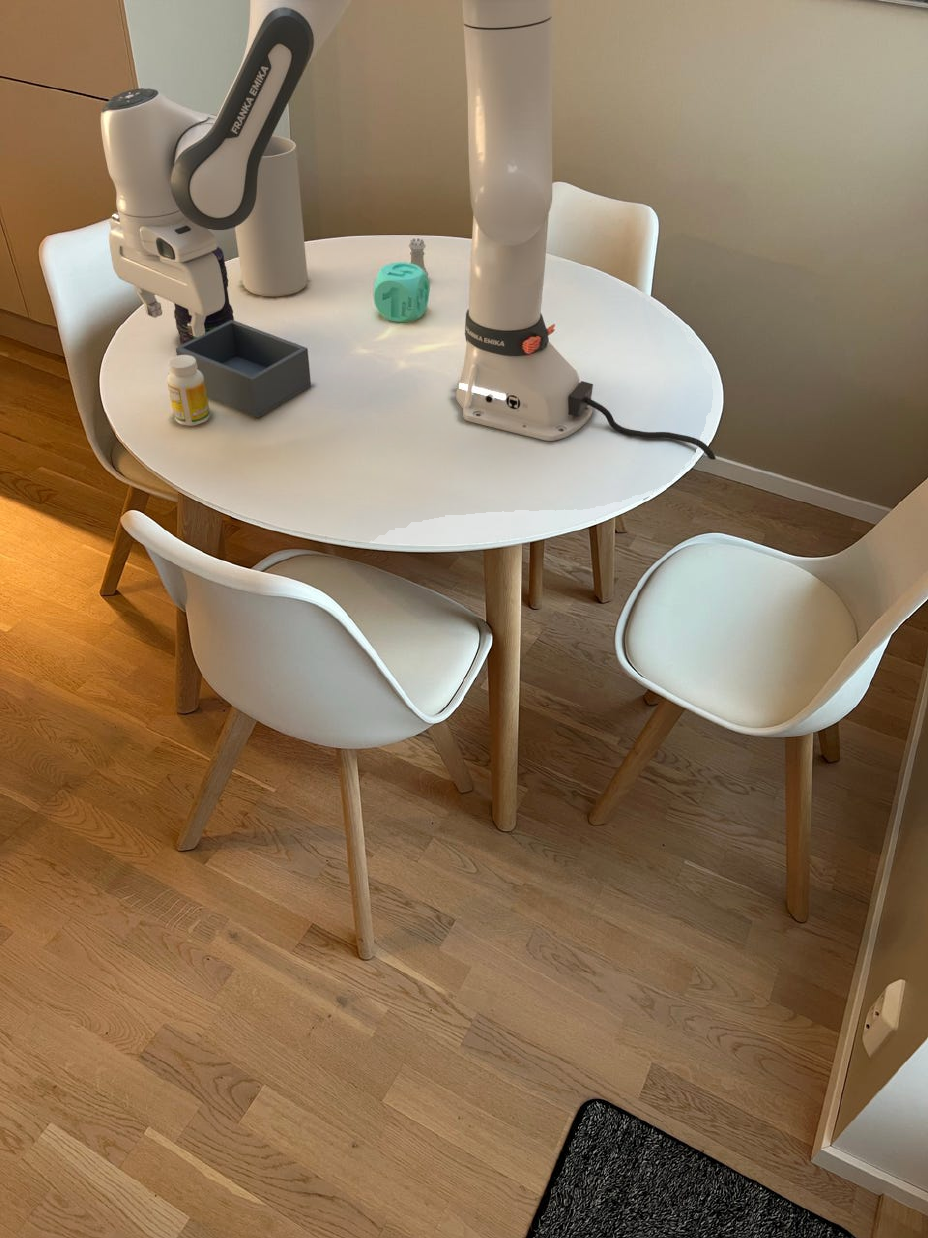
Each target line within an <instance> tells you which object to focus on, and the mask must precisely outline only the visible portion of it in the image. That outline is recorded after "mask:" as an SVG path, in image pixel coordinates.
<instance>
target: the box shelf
mask: <svg viewBox="0 0 928 1238" xmlns="http://www.w3.org/2000/svg"><path fill="white" fill-rule="evenodd" d="M174 349H175V354H176V356H179V355H190V356H193V357H194V358H195V359H196V362H197V369H198V370H199V371H200V372H201V373H202V374H203V377H204V382H205V388H206V394H207V398H208V399H211V400H213V401H216V402H218V403H221V404H223V405H226V406H227V407H230V408H232V409H235V410H237V411H239V412H241V413H243V414H246V415H248V416H251V417H252V418H256V419H260V418H262V417H263V416H265V415H267V414H268V413H270V412H271V411H273V410H274V409H277V408H278V407H279V406H282V405H283V404H285V403H287V402H288V401H289V400H291V399H293V398H294V397H296V396H298V395H299V394H301V393H303V392H304V391H306V390H307V389H309V388H311V387H312V382H311V379H312V378H311V371H310V369H311V368H310V360H309V359H310V358H309V348H308V347H306V346H303V345H300V344H298V343H295V342H292V341H290V340H287V339H285V338H281V337H279V336H276V335H274V334H271V333H268V332H265V331H263V330H260V329H258V328H255V327H253V326H249V325H247V324H245V323H241V322H239V321H237V320H235V319H234V320H230V321H228V322H226V323H224V324H222V325H220V326H218V327H216V328H214V329H212V330H210V331H208V332H206V333H205V334H204V335H202V336H200V337H198V338H197V337H196V338H194V339H192V340H190V341H188V342H186V343H184V344H182V345H181V344H180V345H179V346H177V347H175V348H174Z"/></svg>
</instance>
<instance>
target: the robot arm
mask: <svg viewBox="0 0 928 1238" xmlns="http://www.w3.org/2000/svg"><path fill="white" fill-rule="evenodd" d="M352 1H353V0H250V1H249V2H250V3H249V23H248V24H249V25H248V35H247V41H246V46H245V51H244V55H243V58H242V61H241V64H240V66H239V68H238V70H237V73H236V76H235V77H234V79H233V82H232V83H231V86H230V88H229V90H228V92H227V94H226V97H225V99H224V101H223V103H222V105H221V107H220V109H219V112H218V113H217V114H209V113H205V112H201V111H198V110H194V109H191V108H189V107H186V106H183V105H181V104H179V103H177V102H175V101H173V100H171V99H169V98H168V97H166V95H164V94H162V93H161V91H159V90H157V89H155V88H142V87H141V88H134V89H129V90H126V91H123V92H120V93H118V94H117V95H115V96H112V97H110V99H108V100H107V102H105V105H103V108H102V110H101V113H100V132H101V139H102V145H103V146H102V147H103V152H104V157H105V161H106V164H107V165H106V166H107V171H108V174H109V177H110V178H111V180H112V183H113V185H114V187H115V193H116V200H115V203H116V204H115V205H116V206H115V207H116V210H117V211H115V212H114V213H113V214H112V215H111V216H110V218H109V225H110V231H109V233H108V242H109V249H110V256H111V257H110V258H111V262H112V268H113V270H114V273H115V274H116V276H117V277H118V279H120V280H122V281H124V282H126V283H129V284H131V285H132V286H133V285H134V288H135V292H136V293H137V295H138V297H139V298H140V300H141V302H142V303H143V305H144V309H145V313H146V315H147V316H150V317H152V318H154V319H156V318H158V317H160V316H162V315H163V309H162V304H161V302H159V301H158V300H157V298H156V296H157V297H160V298H162V299H164V300H167V301H169V302H171V303H173V304H174V303H175V304H178V305H180V306H182V307H184V308H187V309H188V311H189V315H191V316H192V320H191V322H190V323H187V326H188V329H189V331H188V332H189V334H191V335H193V336H195V337H197V338H198V337H200V336H202V335H204V334H205V328H204V321H205V318H206V316H208V315H210V314H213V313H215V312H217V311H219V310H221V309H222V308H223V306H224V304H225V294H224V286H223V280H222V274H221V269H220V265H219V262H218V260H217V258H216V256H215V255H214V254H213V253H212V251H214V250H216V249H217V247H218V242H217V238H216V236H215V234H214V233H213V232H212V231H228V230H231V229H235V227H236V226H238V225H240V224H241V223H242V222H244V221H245V220H246V219H247V218H248V217H249V215H250V214H251V212H252V210H253V208H254V205H255V202H256V195H257V177H258V169H259V164H260V161H261V158H262V155H263V153H264V151H265V149H266V147H267V145H268V142H269V140H270V138H271V136H273V135H274V132H275V130H276V128H277V126H278V124H279V122H280V120H281V118H282V116H283V114H284V112H285V110H286V107H287V105H288V103H289V102H290V100H291V98H292V96H293V94H294V92H295V90H296V88H297V86H298V85H299V82H300V81H301V79H302V78H303V76H304V74H305V73H306V71H307V70H308V68H309V67H310V65H311V64H312V62H313V61H314V60H315V57H316V56H317V55H318V53H319V52H320V50H321V49H322V47H323V46H324V44H325V43H326V42H327V41H328V39H329V37H330V36H331V35H332V33H333V32H334V30H335V29H336V28H337V26H338V24H339V23H340V21H341V19H342V18H343V16H344V14H345V13H346V11H347V10H348V9H349V6H350V4H351V3H352ZM552 13H553V12H552V0H462V23H463V24H462V25H463V39H464V40H463V41H464V55H465V58H464V59H465V75H466V89H467V90H466V91H467V93H466V94H467V136H468V137H467V139H468V141H467V142H468V170H469V171H468V173H469V177H468V178H469V198H470V206H471V211H472V214H473V217H472V233H471V247H470V248H471V249H470V265H469V289H468V290H469V291H468V309H467V310H466V312H465V321H464V337H465V341H466V344H465V345H466V346H465V354H464V359H463V360H464V361H463V366H462V371H461V375H460V379H459V382H458V385H457V387H456V390H455V400H456V402H457V403H458V404H459V406H460V407H461V409H462V418H463V419H464V421H467V422H469V423H474V424H478V425H482V426H486V427H489V428H494V429H498V430H501V431H505V432H510V433H512V434H513V433H514V434H517V435H522V436H526V437H530V438H533V439H537V440H541V441H546V442H555V441H559V440H562V439H564V438H567V437H569V436H571V435H573V434H574V433H576V432H577V431H578V430H580V429H581V428H583V426H584V425H586V423H587V422H588V421H589V420H590V419H591V416H592V414H593V409H595V410H597V411H598V412H600V413H601V414H602V415H603V416H604V417H605V418H606V420H607V423H608V425H609V426H610V427H611V428H612V429H613V430H615V431H616V432H618V433H619V434H622V435H625V436H630V437H636V438H642V439H669V440H674V441H678V442H683V443H689V444H692V445H694V446H696V447H698V448H699V449H700V450H702V451H703V452H704V454H705V455H706V456H707V458H708V459H710V460H713V461H714V460H717V458H716V456H715V453H714V452H713V451H712V449H711V448H710V447H709V446H708V445H707V444H706V443H705V442H703V441H702V440H700V439H698V438H695V437H693V436H689V435H685V434H680V433H674V432H669V431H643V430H642V431H641V430H635V429H629V428H626V427H624V426H621V425H620V424H618V423H617V422H615V420H614V417H613V415H612V413H611V412H610V411H609V410H608V409H607V407H605V406H603V405H602V404H600V403H599V402H597V401H595V400H593V399H592V396H593V389H594V384H593V383H591V382H588V381H587V382H586V381H584V380H581V381H580V376H579V373H578V372H577V370H576V369H575V368H574V367H573V365H571V364H570V363H569V361H567V360H566V359H565V358H564V356H563V355H562V354H561V353H560V352H559V350H558V349H557V348H556V347H555V346H554V345H553V344H552V343H551V342H550V341H549V340H550V338H549V336H550V335H552V334H553V333H554V332H555V327H556V324H555V323H552V324H551V325H550V326H548V327H547V326H546V323H545V319H544V316H543V314H542V303H543V290H544V283H545V282H544V280H545V272H546V271H545V268H546V257H547V256H546V255H547V244H548V243H547V241H548V227H549V216H550V211H551V208H552V203H553V180H554V179H553V176H554V175H553V173H554V172H553V169H554V168H553V167H554V166H553V165H554V164H553V56H552V55H553V52H552V51H553V27H552V25H553V24H552V22H553V21H552V20H553V15H552Z"/></svg>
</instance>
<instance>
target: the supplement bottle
mask: <svg viewBox="0 0 928 1238" xmlns="http://www.w3.org/2000/svg"><path fill="white" fill-rule="evenodd" d="M168 366H169V371H170V372H169V374H168V375H167V378H166V380H167V387H168V391H169V396H170V401H171V406H172V411H173V416H174V420H175V421H176V422H177V423H178V424H180V425H183V426H187V427H189V426H198V425H201V424H204V423H205V422H207V421H208V420H209V419H210V415H211V412H210V406H209V400H208V399H209V398H208V397H207V394H206V388H205V382H204V377H203V374H202V373H201V372H200V371H199V370H198V369H197V362H196V359H195V358H194V357H193V356H190V355H179V356H177V355H175V356H173V357H172V358H170V359H169V360H168Z"/></svg>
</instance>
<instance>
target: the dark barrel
mask: <svg viewBox="0 0 928 1238" xmlns="http://www.w3.org/2000/svg"><path fill="white" fill-rule="evenodd" d="M212 253H213V254H214V255H215V256H216V258H217V260H218V262H219V265H220V269H221V274H222V280H223V286H224V294H225V304H224V306H223V308H222V309H221V310H219V311H217V312H215V313H213V314H210V315H208V316H206V318H205V321H204V328H205V333H206V332H208V331H210V330H212V329H214V328H216V327H218V326H220V325H222V324H224V323H226V322H228V321H230V320H234V321H235V317H234V310H233V307H232V305H231V304H230V296H229V290H228V287H229V278H228V270H227V266H226V262H225V253H224V251H223V248H221V247H220V246H217V249H216V250H214V251H212ZM173 305H174V306H173V307H174V310H173V318H174V319H175V327H176V330H177V332H178V333H177V334H178V335H179V342H180V345H182V344H184V343H186V342H188V341H190V340H192V339H194V338H196V337H195V336H193V335H191V334H189V332H188V331H189V329H188V326H187V323H190V322H191V320H192V316H191V315H189V311H188V309H187V308H184V307H182V306H180V305H178V304H175V303H173Z"/></svg>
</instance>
